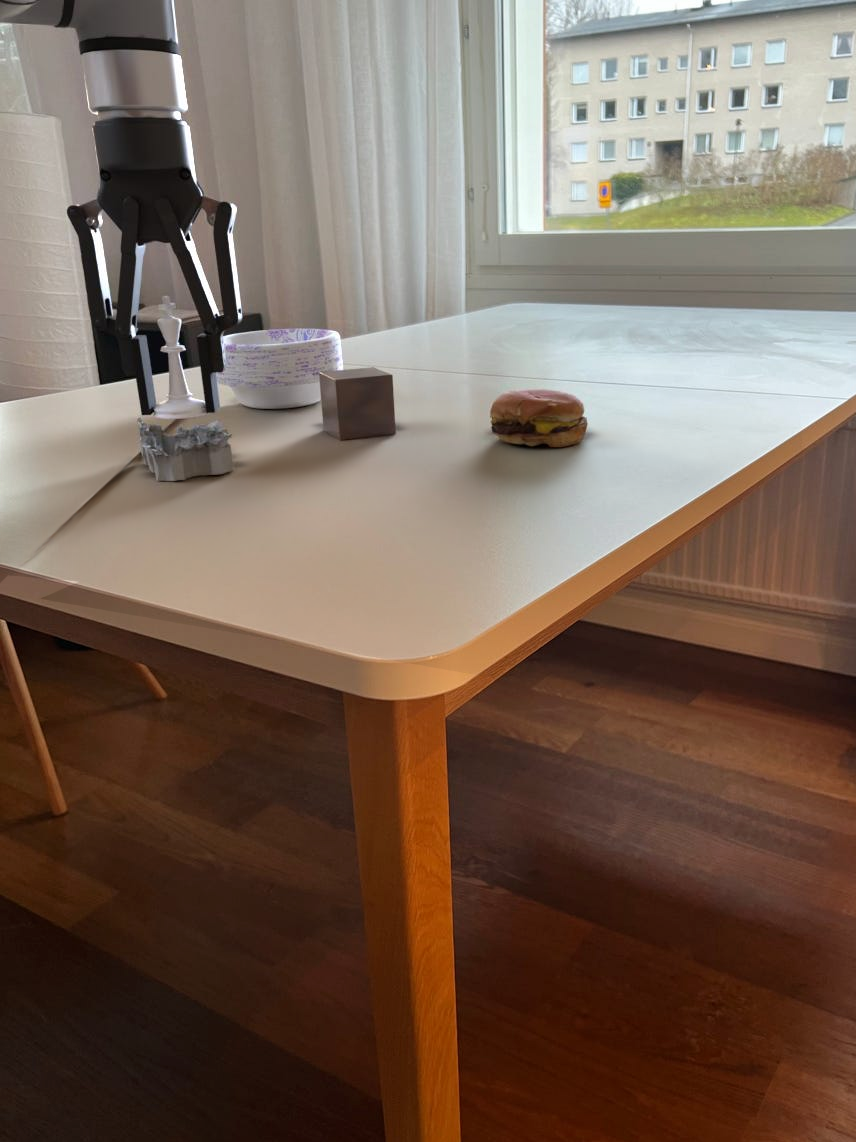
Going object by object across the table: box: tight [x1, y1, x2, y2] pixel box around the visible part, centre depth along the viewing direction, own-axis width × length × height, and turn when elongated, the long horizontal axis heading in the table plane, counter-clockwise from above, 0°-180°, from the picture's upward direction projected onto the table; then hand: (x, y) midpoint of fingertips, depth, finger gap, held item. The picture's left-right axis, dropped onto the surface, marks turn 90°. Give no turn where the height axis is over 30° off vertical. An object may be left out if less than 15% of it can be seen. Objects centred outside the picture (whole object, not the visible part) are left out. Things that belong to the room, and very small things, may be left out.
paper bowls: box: [216, 328, 344, 410], centre depth 119 cm, size 15×15×8 cm
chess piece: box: [152, 295, 209, 420], centre depth 87 cm, size 5×5×10 cm
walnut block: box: [319, 366, 397, 441], centre depth 102 cm, size 6×6×6 cm
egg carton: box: [136, 417, 235, 482], centre depth 90 cm, size 11×8×4 cm
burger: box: [489, 388, 588, 448], centre depth 97 cm, size 10×9×5 cm
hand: (181, 410), depth 89 cm, fingers closed on chess piece, 5 cm apart
